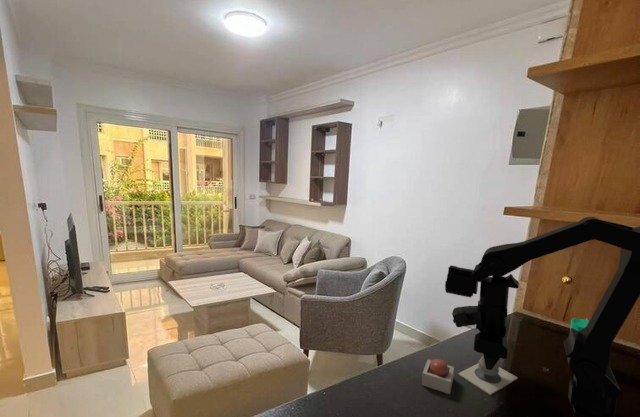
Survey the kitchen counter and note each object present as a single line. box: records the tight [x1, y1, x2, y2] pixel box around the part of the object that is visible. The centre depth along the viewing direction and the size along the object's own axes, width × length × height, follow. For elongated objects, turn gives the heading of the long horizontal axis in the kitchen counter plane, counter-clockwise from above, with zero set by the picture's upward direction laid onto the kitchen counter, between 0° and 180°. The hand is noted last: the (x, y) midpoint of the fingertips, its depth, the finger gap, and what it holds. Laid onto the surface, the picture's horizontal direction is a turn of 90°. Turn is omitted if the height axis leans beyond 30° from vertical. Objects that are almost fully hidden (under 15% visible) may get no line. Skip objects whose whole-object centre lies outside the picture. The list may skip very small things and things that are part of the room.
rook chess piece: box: [477, 354, 500, 375], centre depth 73 cm, size 4×4×8 cm
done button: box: [430, 358, 448, 378], centre depth 72 cm, size 4×4×2 cm
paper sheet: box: [457, 362, 518, 396], centre depth 74 cm, size 11×8×1 cm
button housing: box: [421, 358, 455, 395], centre depth 72 cm, size 6×6×3 cm
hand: (488, 363), depth 73 cm, fingers closed on rook chess piece, 4 cm apart
